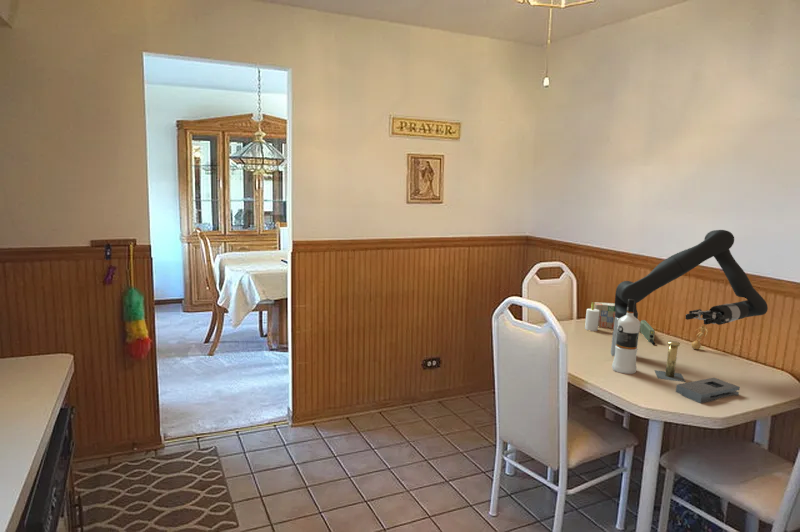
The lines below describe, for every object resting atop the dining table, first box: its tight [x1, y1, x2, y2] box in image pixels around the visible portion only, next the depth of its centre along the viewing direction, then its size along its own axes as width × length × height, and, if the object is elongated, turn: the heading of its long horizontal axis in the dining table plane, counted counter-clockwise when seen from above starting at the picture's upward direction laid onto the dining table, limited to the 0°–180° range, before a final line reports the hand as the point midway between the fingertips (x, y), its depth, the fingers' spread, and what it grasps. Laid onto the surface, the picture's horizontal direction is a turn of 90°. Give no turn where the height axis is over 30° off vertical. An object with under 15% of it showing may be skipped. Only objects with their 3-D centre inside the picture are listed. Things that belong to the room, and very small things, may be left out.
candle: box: [584, 301, 599, 332], centre depth 282 cm, size 6×6×15 cm
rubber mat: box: [654, 369, 687, 383], centre depth 216 cm, size 10×10×1 cm
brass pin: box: [665, 340, 681, 377], centre depth 215 cm, size 4×4×14 cm
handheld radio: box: [639, 319, 656, 345], centre depth 270 cm, size 7×3×25 cm
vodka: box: [611, 299, 641, 375], centre depth 219 cm, size 9×9×30 cm
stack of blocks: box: [593, 301, 615, 329], centre depth 289 cm, size 21×6×12 cm, turn 79°
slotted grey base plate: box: [675, 377, 740, 404], centre depth 199 cm, size 21×10×3 cm, turn 115°
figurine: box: [691, 324, 709, 350], centre depth 254 cm, size 8×6×12 cm
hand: (695, 319), depth 217 cm, fingers open, 8 cm apart
